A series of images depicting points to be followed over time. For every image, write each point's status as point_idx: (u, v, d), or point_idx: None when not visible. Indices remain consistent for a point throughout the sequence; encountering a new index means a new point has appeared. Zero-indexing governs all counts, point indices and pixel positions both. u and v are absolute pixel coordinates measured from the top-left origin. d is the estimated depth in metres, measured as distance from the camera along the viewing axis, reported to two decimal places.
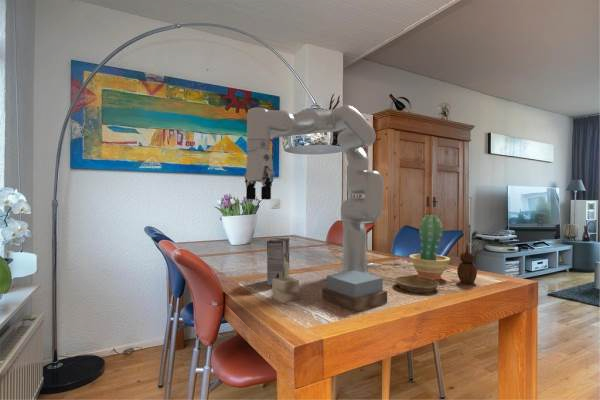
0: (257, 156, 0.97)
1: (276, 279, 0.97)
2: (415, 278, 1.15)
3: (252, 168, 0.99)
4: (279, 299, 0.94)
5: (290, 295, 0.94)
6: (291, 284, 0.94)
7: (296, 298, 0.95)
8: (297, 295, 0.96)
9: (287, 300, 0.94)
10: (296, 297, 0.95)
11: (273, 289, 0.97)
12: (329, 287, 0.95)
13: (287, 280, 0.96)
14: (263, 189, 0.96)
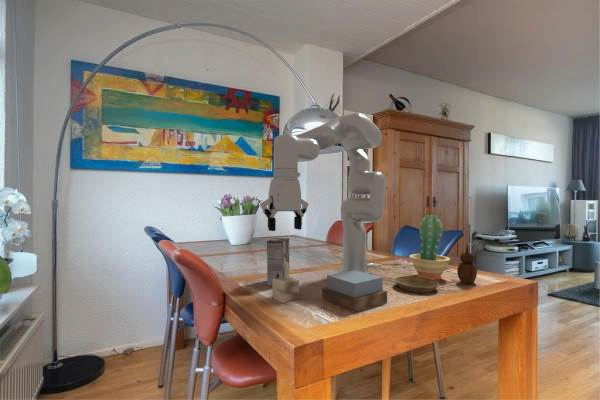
0: (297, 187, 0.96)
1: (276, 279, 0.97)
2: (415, 278, 1.15)
3: (290, 198, 0.95)
4: (279, 299, 0.94)
5: (290, 295, 0.94)
6: (291, 284, 0.94)
7: (296, 298, 0.95)
8: (297, 295, 0.96)
9: (287, 300, 0.94)
10: (296, 297, 0.95)
11: (273, 289, 0.97)
12: (329, 287, 0.95)
13: (287, 280, 0.96)
14: None
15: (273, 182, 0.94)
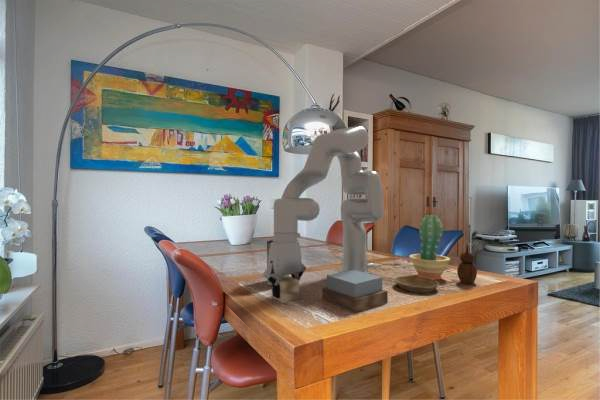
0: (297, 249, 0.97)
1: None
2: (415, 278, 1.15)
3: (290, 261, 0.95)
4: (279, 299, 0.94)
5: (290, 295, 0.94)
6: (291, 284, 0.94)
7: (296, 298, 0.95)
8: (297, 295, 0.96)
9: (287, 300, 0.94)
10: (296, 297, 0.95)
11: None
12: (329, 287, 0.95)
13: (287, 280, 0.96)
14: None
15: (273, 246, 0.94)
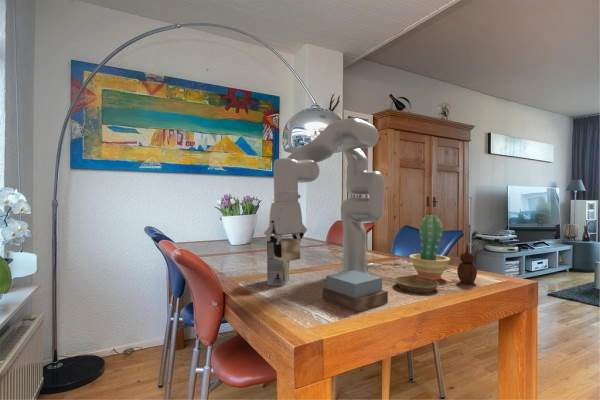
0: (298, 209, 0.97)
1: None
2: (415, 278, 1.15)
3: (291, 221, 0.95)
4: (281, 258, 0.94)
5: (291, 254, 0.94)
6: (292, 244, 0.95)
7: (298, 257, 0.96)
8: (298, 255, 0.96)
9: (289, 259, 0.94)
10: (298, 256, 0.96)
11: None
12: (329, 287, 0.95)
13: (288, 240, 0.96)
14: None
15: (274, 206, 0.94)
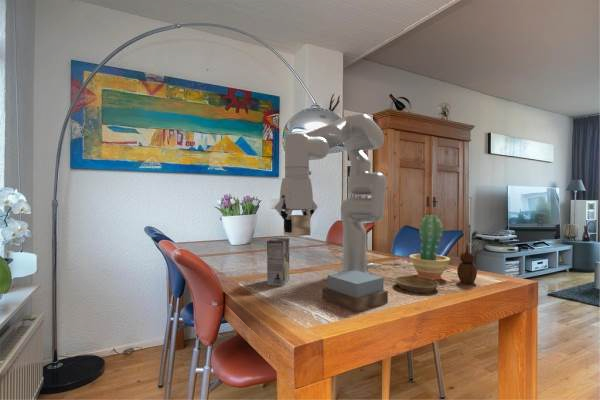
0: (309, 185, 0.96)
1: None
2: (415, 278, 1.15)
3: (302, 196, 0.94)
4: (291, 233, 0.94)
5: (301, 230, 0.94)
6: (302, 219, 0.94)
7: (308, 233, 0.95)
8: (309, 230, 0.95)
9: (299, 234, 0.93)
10: (308, 232, 0.95)
11: None
12: (330, 287, 0.95)
13: None
14: None
15: (284, 180, 0.93)
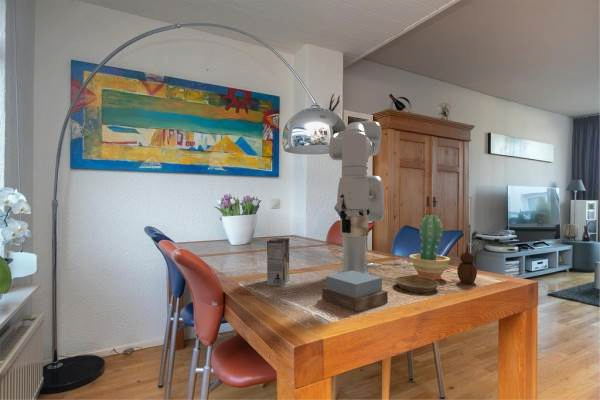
0: (366, 185, 0.94)
1: None
2: (415, 278, 1.15)
3: (360, 196, 0.93)
4: (350, 234, 0.92)
5: (360, 230, 0.92)
6: (361, 219, 0.92)
7: (366, 234, 0.93)
8: (367, 231, 0.94)
9: (358, 234, 0.91)
10: (366, 233, 0.93)
11: (341, 225, 0.95)
12: (328, 287, 0.95)
13: None
14: None
15: (343, 180, 0.92)
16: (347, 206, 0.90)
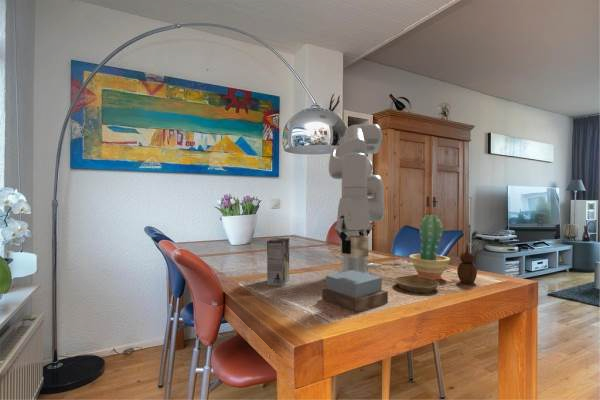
0: (366, 205, 0.94)
1: None
2: (415, 278, 1.15)
3: (361, 217, 0.93)
4: (350, 255, 0.92)
5: (360, 251, 0.92)
6: (362, 240, 0.92)
7: (366, 254, 0.93)
8: (367, 252, 0.93)
9: (358, 256, 0.91)
10: (366, 253, 0.93)
11: (341, 246, 0.94)
12: (328, 287, 0.95)
13: (357, 236, 0.93)
14: None
15: (343, 201, 0.92)
16: (347, 227, 0.90)
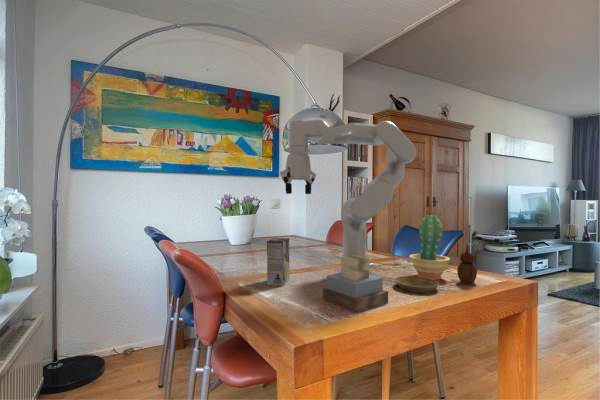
0: (308, 160, 1.25)
1: (345, 257, 0.94)
2: (415, 278, 1.15)
3: (303, 169, 1.23)
4: (350, 277, 0.91)
5: (361, 273, 0.92)
6: (362, 262, 0.92)
7: (367, 276, 0.93)
8: (367, 273, 0.93)
9: (359, 278, 0.91)
10: (367, 275, 0.93)
11: (342, 267, 0.94)
12: (329, 287, 0.95)
13: (357, 258, 0.93)
14: None
15: (289, 156, 1.22)
16: (291, 175, 1.21)
